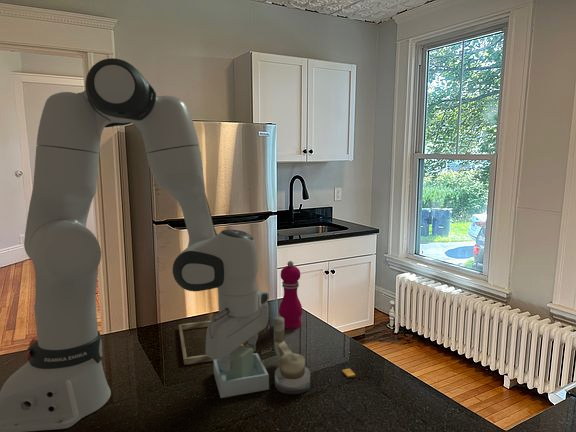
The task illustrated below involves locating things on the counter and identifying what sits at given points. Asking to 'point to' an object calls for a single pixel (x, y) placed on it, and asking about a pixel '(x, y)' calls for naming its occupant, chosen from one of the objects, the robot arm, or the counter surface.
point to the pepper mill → (290, 297)
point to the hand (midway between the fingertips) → (239, 360)
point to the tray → (241, 379)
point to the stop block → (241, 363)
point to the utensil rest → (183, 327)
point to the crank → (287, 353)
